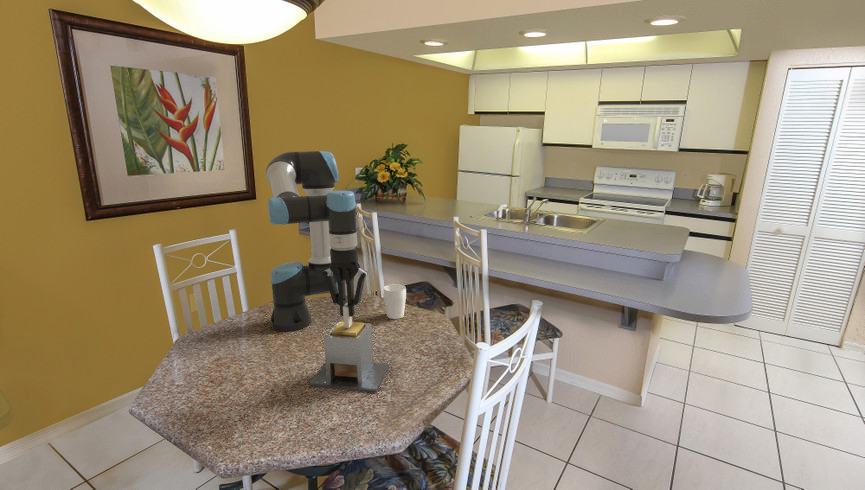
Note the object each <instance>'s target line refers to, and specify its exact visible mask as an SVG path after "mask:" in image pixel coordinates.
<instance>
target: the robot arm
mask: <svg viewBox="0 0 865 490" xmlns="http://www.w3.org/2000/svg"><path fill="white" fill-rule="evenodd" d="M265 178H266V180H267V182H268V184H269V185H270V186H271V191H272V192H271V193H272V198H271V197H270V198H269V199H268V200H267V209H268V218H269V223H271V225H282V226H283V225H284V226H285V225H292V224H293V225H294V224H303V223H304V224H305V223H308V225H309V233H310V247H311V248H310V249H311V256H310V257H309V258H308V260H307V265H304V264H303V263H302V262H301V261H290V262H285V263H281V264H279V265H277V266H275V267H274V268H273V269H272V270H271V272H270V284H271V291H272V303H273V308H272V312H271V315H270V323H269V324H270V328H271V327H272V328H273V330H275V331H277V330H278V331H279V332H292V331H297V330H301V329H305V328H306V327H308V326H309V325H310V324H311V323H312V321H313V319H312V314H311V311H310V308H309V307H308V305H307V303H306V297H310V296H315V295H316V296H317V295H323V294H330V297H331V300H332V303H333V304H335V305H338V306H339V314H340V316H341V317H342V318H343V321H344V328H350V326H351V325H352V322H353V317H354V315H355V313H356V312H355V306H357V305H358V304H359V303H360V302H361V301H362V295H363V290H364V285H365V279H366V278H367V276H368V275H369V272H368V271H367V270H363V269H362V268H361V265H360V264H359V253H358V252H359V251H358V250H359V249H358V247H357V246H358V234H357V233H358V232H357V212H356V209H357V202H356V196H355V192H354V191H351V190H334V189H335V184H337V183H339V169H338V165H337V162H336V159H335V156H334V154H333V153H332V152H330V151H325V150H323V151H322V150H318V151H316V150H314V151H287V152H283V153H281V154H278V155H277V156H275V157H274V158H273V159H271V160H270V161H269V162H268V164H267V166H266V170H265ZM297 185H301V187H302V190H303V191H304V193H306V195H300V193H299V190H298V186H297ZM356 276H357V277H358V280H357V282H356V283H357V284H356V289H355V285H354V284H355V283H354V282H355V277H356Z"/></svg>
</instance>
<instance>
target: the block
mask: <svg viewBox="0 0 865 490" xmlns="http://www.w3.org/2000/svg"><path fill="white" fill-rule="evenodd" d="M339 322H340V323H339V324H338V325H337V326H336V327H335V329H334V330H333V331H332V335H333V336H347V337H358V336H359V334H360V333H361V332H362V330H363V329H364V323H365V322H359V321H357V322H356V321H352V325H351V326H350V328H344V320H342V321H339ZM334 368H335V376H346V377H357V378H358V373H357V365H348V364H336V363H334Z"/></svg>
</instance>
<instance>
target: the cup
mask: <svg viewBox="0 0 865 490" xmlns="http://www.w3.org/2000/svg"><path fill="white" fill-rule="evenodd" d="M382 295H383V300H384V305H385V312H386V317H387V318H388V319H392V320H398V319H401V318H403V317H405V309H406V308H405V307H406V299H407V288H406V286H405V285H403V284H398V283H391V284H387V285H385V286H384V287H383V294H382Z"/></svg>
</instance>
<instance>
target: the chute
mask: <svg viewBox="0 0 865 490" xmlns="http://www.w3.org/2000/svg"><path fill="white" fill-rule="evenodd" d="M340 322H341V321H336V323H335V324H334V325H333V326H332V327H331V328H330V329H329V330H328V332H327V333H326V334H325V335H324V336H323V344H324V345H323V347H324V359H325V363H323V366H322V367H320V369H319V370H318V372H317V373H316V374H315V375H314V376H313V378H312V379H311V380H310V381H309V384H308V387H312V388H322V389H324V388H325V389H333V390H335V389H336V390H344V391H345V390H346V391H355V392H356V391H357V392H367V393H375V394H376V393H377V392H378V391H379V388H380V386H381V385H382V382H383V380H384V379H385V377H386V375H387V372H388V371H389V369H390V364H389V363H380V362H379V363H378V362H374V354H373V353H374V352H373V350H374V349H373V329H372V323H369V322H368V323H366V322H363V323H364V329H363V330H362V332H361V333H360V334H359V336H358V337H347V336H333V335H332V331H333V330H334V329H335V327H336V326H337V325H338V324H339V323H340ZM334 363H336V364H348V365H357V373H358V378H357V377H346V376H335V368H334Z"/></svg>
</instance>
